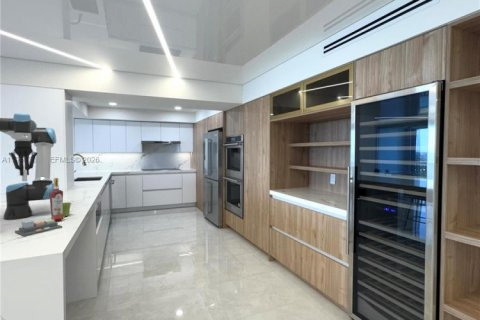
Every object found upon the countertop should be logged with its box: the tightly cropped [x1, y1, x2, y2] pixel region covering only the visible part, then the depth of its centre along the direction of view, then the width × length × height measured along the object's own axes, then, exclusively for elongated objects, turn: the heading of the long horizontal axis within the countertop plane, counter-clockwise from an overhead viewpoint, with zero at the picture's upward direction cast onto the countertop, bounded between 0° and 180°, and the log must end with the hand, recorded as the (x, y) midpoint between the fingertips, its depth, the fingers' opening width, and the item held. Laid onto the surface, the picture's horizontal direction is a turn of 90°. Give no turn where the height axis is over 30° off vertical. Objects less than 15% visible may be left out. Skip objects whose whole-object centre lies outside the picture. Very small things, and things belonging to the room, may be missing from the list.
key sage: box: [43, 218, 55, 224], centre depth 152 cm, size 4×4×3 cm
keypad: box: [14, 221, 63, 237], centre depth 148 cm, size 13×18×3 cm
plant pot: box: [63, 202, 72, 218], centre depth 178 cm, size 9×9×9 cm
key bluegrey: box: [21, 220, 35, 229], centre depth 143 cm, size 4×4×3 cm
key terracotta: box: [34, 221, 45, 227], centre depth 147 cm, size 4×4×3 cm
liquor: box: [49, 177, 64, 222], centre depth 166 cm, size 7×7×28 cm
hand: (24, 181), depth 149 cm, fingers closed
